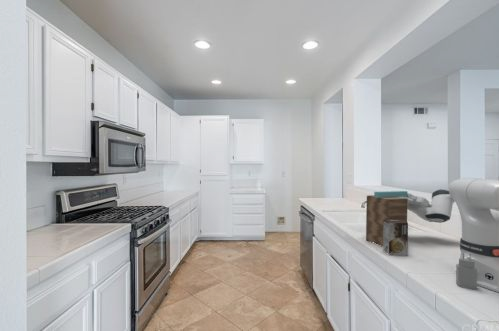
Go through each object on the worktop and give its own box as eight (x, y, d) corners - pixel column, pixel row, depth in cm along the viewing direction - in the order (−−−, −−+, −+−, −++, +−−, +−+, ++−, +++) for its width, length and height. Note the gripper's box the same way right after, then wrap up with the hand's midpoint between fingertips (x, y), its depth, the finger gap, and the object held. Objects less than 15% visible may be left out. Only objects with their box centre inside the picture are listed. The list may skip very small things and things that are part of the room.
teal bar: (407, 196, 139) (407, 191, 139) (378, 197, 133) (378, 192, 133) (402, 196, 142) (402, 190, 142) (374, 197, 136) (374, 191, 136)
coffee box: (401, 251, 124) (401, 219, 124) (408, 256, 118) (408, 222, 118) (382, 250, 125) (383, 219, 125) (388, 255, 119) (389, 222, 119)
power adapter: (455, 282, 92) (456, 250, 92) (474, 286, 89) (475, 253, 89) (457, 286, 89) (458, 253, 89) (477, 290, 86) (478, 256, 86)
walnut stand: (406, 247, 131) (407, 198, 131) (389, 249, 127) (390, 199, 127) (382, 238, 146) (382, 195, 146) (365, 240, 142) (366, 195, 142)
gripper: (431, 212, 133) (415, 201, 129) (398, 206, 153) (383, 196, 149) (435, 202, 134) (420, 190, 130) (402, 197, 153) (387, 186, 150)
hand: (400, 193), depth 140 cm, fingers open, 8 cm apart
